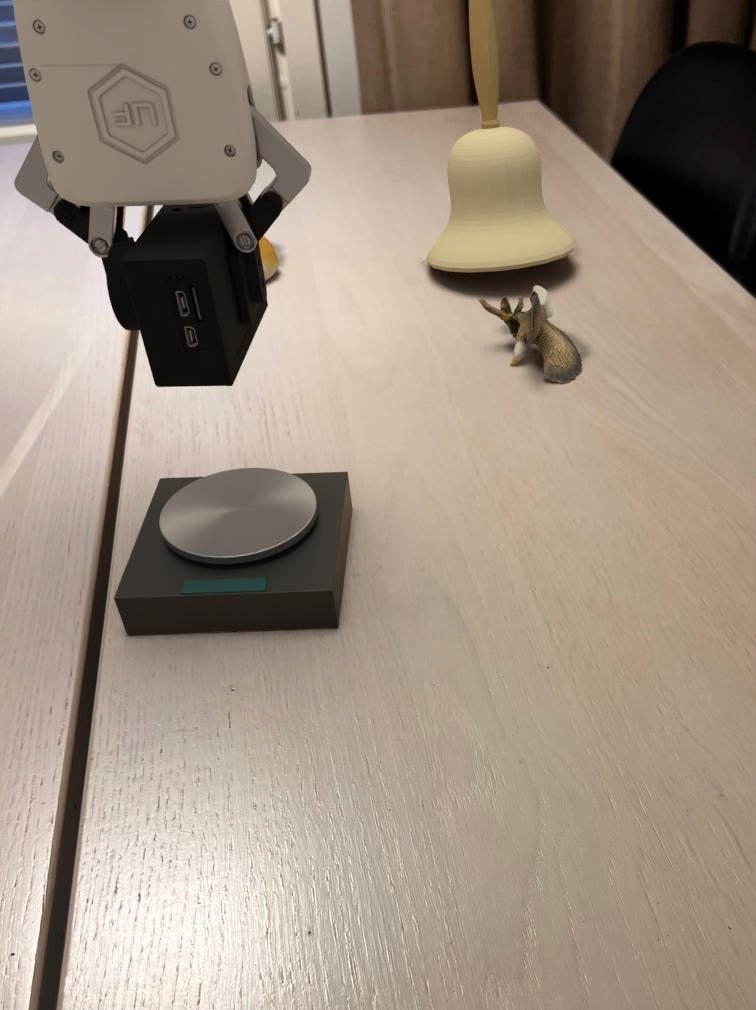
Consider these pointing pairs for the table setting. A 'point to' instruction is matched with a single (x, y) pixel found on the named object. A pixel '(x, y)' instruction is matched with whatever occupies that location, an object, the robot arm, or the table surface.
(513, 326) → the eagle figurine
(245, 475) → the scale pan
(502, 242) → the handbell
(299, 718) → the table surface
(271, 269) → the bread roll
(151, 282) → the digital camera
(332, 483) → the scale
